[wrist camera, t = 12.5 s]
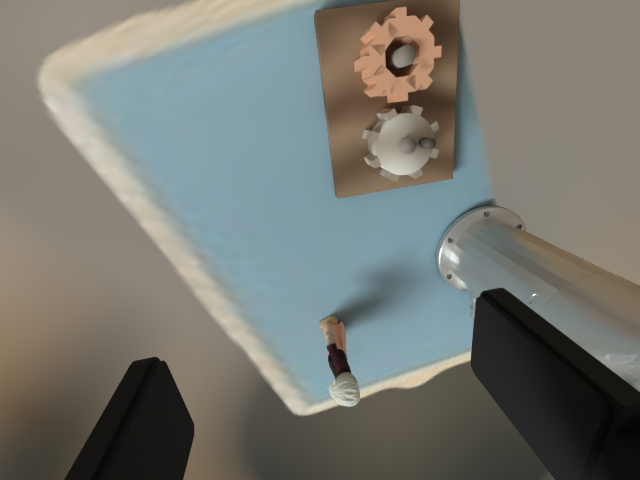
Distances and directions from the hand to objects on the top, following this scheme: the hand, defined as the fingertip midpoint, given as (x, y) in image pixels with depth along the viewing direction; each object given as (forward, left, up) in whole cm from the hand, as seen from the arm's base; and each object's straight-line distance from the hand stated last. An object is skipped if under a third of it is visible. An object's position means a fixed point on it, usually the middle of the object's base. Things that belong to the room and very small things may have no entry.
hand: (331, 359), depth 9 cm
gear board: (+6, -12, -28) cm, 31 cm away
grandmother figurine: (-22, -2, -28) cm, 36 cm away
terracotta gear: (+10, -12, -27) cm, 31 cm away
